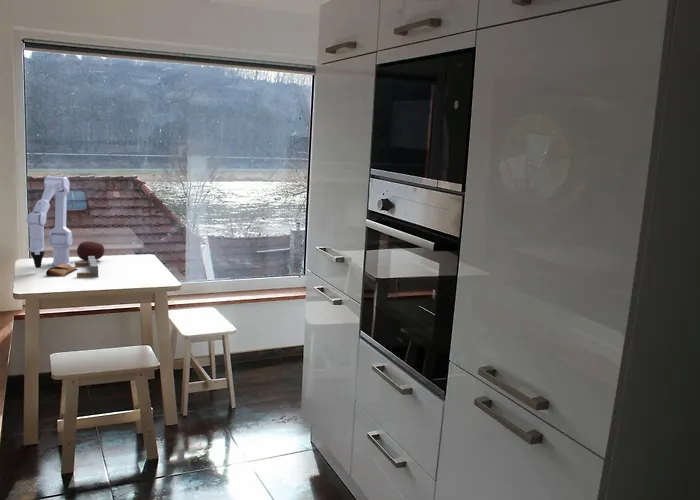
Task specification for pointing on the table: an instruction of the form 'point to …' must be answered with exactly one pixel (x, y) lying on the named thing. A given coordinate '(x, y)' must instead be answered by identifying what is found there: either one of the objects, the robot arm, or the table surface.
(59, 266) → the sunglasses case
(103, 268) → the table surface
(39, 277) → the table surface
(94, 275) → the dock
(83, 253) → the potato
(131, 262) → the table surface
